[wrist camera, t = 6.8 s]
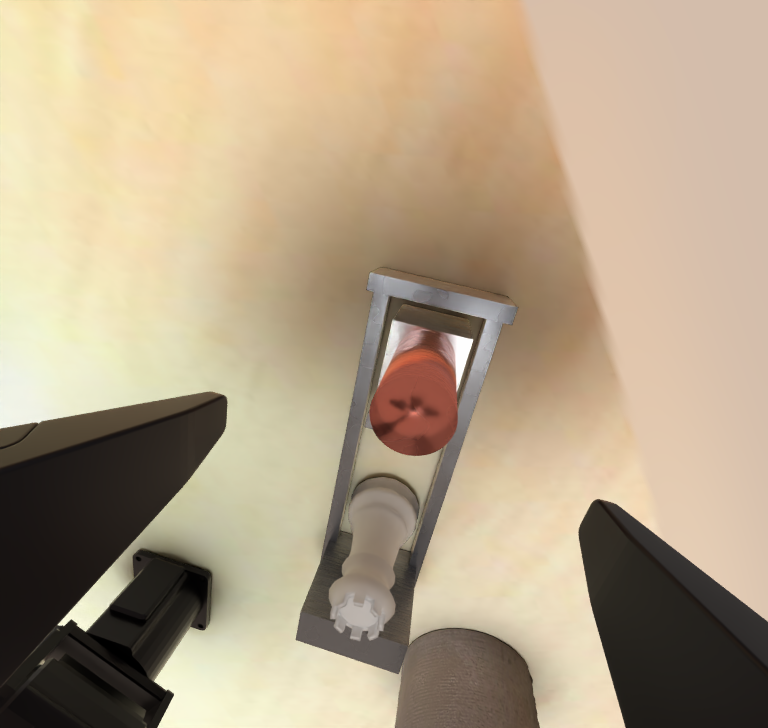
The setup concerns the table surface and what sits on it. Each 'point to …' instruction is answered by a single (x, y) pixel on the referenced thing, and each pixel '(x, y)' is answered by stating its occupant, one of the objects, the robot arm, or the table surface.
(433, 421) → the ram
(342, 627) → the rook chess piece
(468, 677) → the pillar candle
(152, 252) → the table surface
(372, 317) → the press bed
